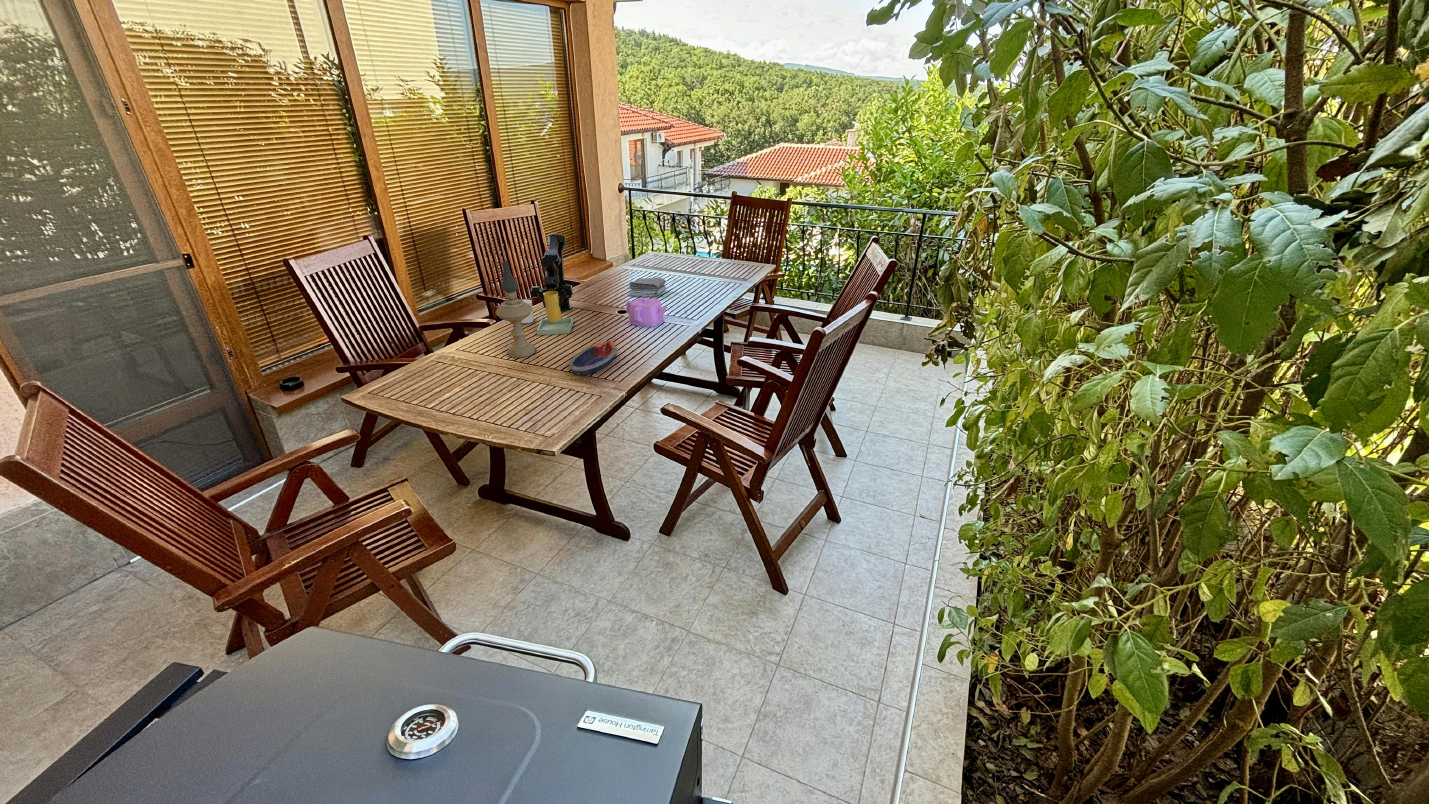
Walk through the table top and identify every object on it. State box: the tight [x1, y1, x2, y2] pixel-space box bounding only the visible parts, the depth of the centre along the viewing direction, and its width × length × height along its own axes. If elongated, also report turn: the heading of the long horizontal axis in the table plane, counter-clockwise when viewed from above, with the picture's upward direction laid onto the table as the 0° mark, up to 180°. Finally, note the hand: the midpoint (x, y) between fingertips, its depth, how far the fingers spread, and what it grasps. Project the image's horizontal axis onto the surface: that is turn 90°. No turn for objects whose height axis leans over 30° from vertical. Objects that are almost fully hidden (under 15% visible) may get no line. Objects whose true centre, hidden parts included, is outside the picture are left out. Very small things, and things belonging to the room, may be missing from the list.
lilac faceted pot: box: [625, 297, 668, 328], centre depth 291 cm, size 17×17×12 cm
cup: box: [543, 291, 563, 322], centre depth 283 cm, size 7×7×13 cm
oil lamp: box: [495, 260, 536, 358], centre depth 253 cm, size 15×15×40 cm
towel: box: [628, 277, 667, 298], centre depth 336 cm, size 15×18×8 cm
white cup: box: [521, 299, 535, 324], centre depth 297 cm, size 8×8×10 cm
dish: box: [568, 340, 618, 376], centre depth 248 cm, size 16×31×5 cm, turn 160°
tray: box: [536, 317, 574, 336], centre depth 288 cm, size 15×15×2 cm
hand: (552, 307), depth 282 cm, fingers closed on cup, 6 cm apart
